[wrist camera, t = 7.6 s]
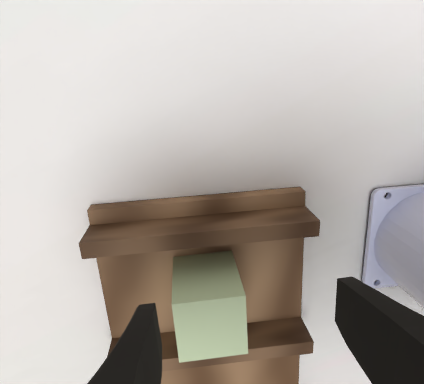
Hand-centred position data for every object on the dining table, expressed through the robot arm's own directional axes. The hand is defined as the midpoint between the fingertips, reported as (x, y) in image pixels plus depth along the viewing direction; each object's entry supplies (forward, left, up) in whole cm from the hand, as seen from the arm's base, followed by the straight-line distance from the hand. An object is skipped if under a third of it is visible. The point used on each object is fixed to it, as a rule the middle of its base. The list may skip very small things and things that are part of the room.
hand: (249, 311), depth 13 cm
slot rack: (+1, +9, -10) cm, 14 cm away
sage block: (+1, +5, -9) cm, 11 cm away
